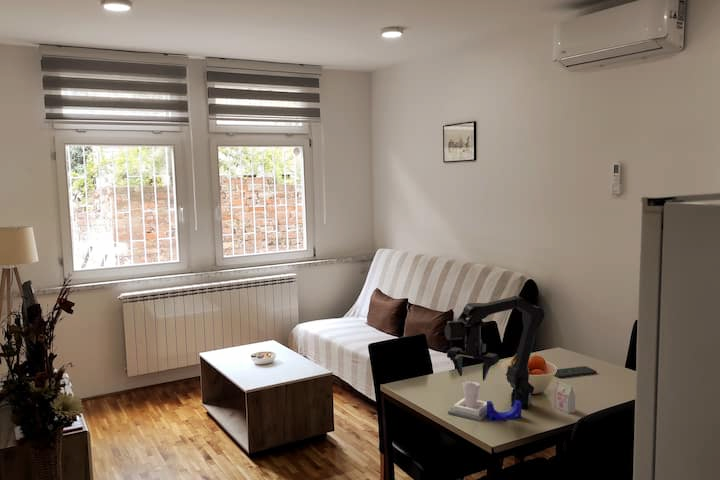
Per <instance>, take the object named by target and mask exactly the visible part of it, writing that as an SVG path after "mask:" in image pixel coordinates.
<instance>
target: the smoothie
mask: <svg viewBox="0 0 720 480" xmlns="http://www.w3.org/2000/svg"><path fill="white" fill-rule="evenodd" d="M462 387H463V393H464V397H465V405H466V407H468V408H473V409H476V405H477V400H478V397H479V392H480V391H479V389H480V388H481V385H480V383H479V382H477V381H473V372H470V381H465V382H463V383H462Z"/></svg>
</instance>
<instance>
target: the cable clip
mask: <svg viewBox="0 0 720 480" xmlns="http://www.w3.org/2000/svg"><path fill="white" fill-rule="evenodd" d="M486 402H487V416H486V417H487V419H488V421H489V422H506V421H507V420H517V419H519V420H521V419H522V408H521V402H520V401H519V400H515V403H514V405H513V407H512V406H511V408H510V409H509V410H508V411H504V412H501V411H498V410H496V409H495V407H494V403H493V402H492V401H491V400H489V401H488V400H487V401H486Z"/></svg>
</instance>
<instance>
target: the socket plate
mask: <svg viewBox="0 0 720 480" xmlns="http://www.w3.org/2000/svg"><path fill="white" fill-rule="evenodd" d="M447 414H448V415H451V416H456V417H459V418H464V419H468V420H474V421H478V422H482V421H483V420H484V419H486V417H487V401H484V400H480V399H477V405H476V409H473V408H468V407H466V405H465V396H464V397H463V398H461V400H459V401H457V402H456V403H455V404H453V407H451V408H450V409H449V410H448V411H447Z"/></svg>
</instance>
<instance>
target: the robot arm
mask: <svg viewBox="0 0 720 480" xmlns="http://www.w3.org/2000/svg"><path fill="white" fill-rule="evenodd" d="M513 309H517V310H519V312H520V313H522V316H521V317H522V318H521V320H522V326H523V327H522V328H523V329H522V332H521V337H520V341H519V344H518V347H517V352H516V357H515V361H514V363H513V364H512V365H508V366H507V370H506V371H507V372H506V373H505V376H506V380H507V383H509V384H510V386H511V388H513V389H512V392H511V393H510V395H511V396H510V397H511V399H510V403H511V404H510V407H511V408H512V407H513V405H514V403H515V400H519V401H520V402H521V410H528V409H529V408H530V407H532V405H533V402H532V394H534V391H535V387H534V386H533V385H532V384H531V383H529V382H530V381H529V380H530V378H529V377H530V373H529V368H528V366H529V361H530V358H531V353H532V351H533V345H534V341H535V338H536V333H537V330H538V329H539V328H540V327H541V326H542V324H543V321H544V319H545V317H546V312H545V311H544V309H543V308H541V307H539V306H536V305H534V304H531V303H530V302H528V301H527V300H526V299H525V298H524V297H521V296H519V295H513V296H511V297H506V298H502V299H496V300H494V301H493V300H492V301H489V302H468V303H467V304H465V305H464V307H463V310H462V312H461V314H460V315H459V317H458V318H457V320H453V321H452V320H447V321H446V325H445V328H444V336H445V338H446V340H448V341H449V340H451V341H452V340H462V339H464V340H463V344H464V351H463V348H461V347H455V346H453V347H452V348H450V349H448V350H447V352H446V357H447V358H449V359H450V361H451V362H453V364H454V367H455V368H456V370H457V373H458V374H459V376H460V377H462V376H463V358H468V359H469V358H470V359H476V360H481V361H483V363H482V381H483V382H484V381H486V379H487V375H488V373H489V371H490V368H491V367H493V366H495V365H497V364H498V363H499V362H500V357H499V354H497V353H492V352H487V344H486V343H483V339H482V337H481V333H482V331H481V329H482V327H486V326H487V324H486V322H484V319H487V317H488V316H490V315H493V314H497V313H498V314H499V313H502V312H504V311H505V312H506V311H510V310H513ZM486 352H487V353H486ZM483 353H486V354H483Z"/></svg>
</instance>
